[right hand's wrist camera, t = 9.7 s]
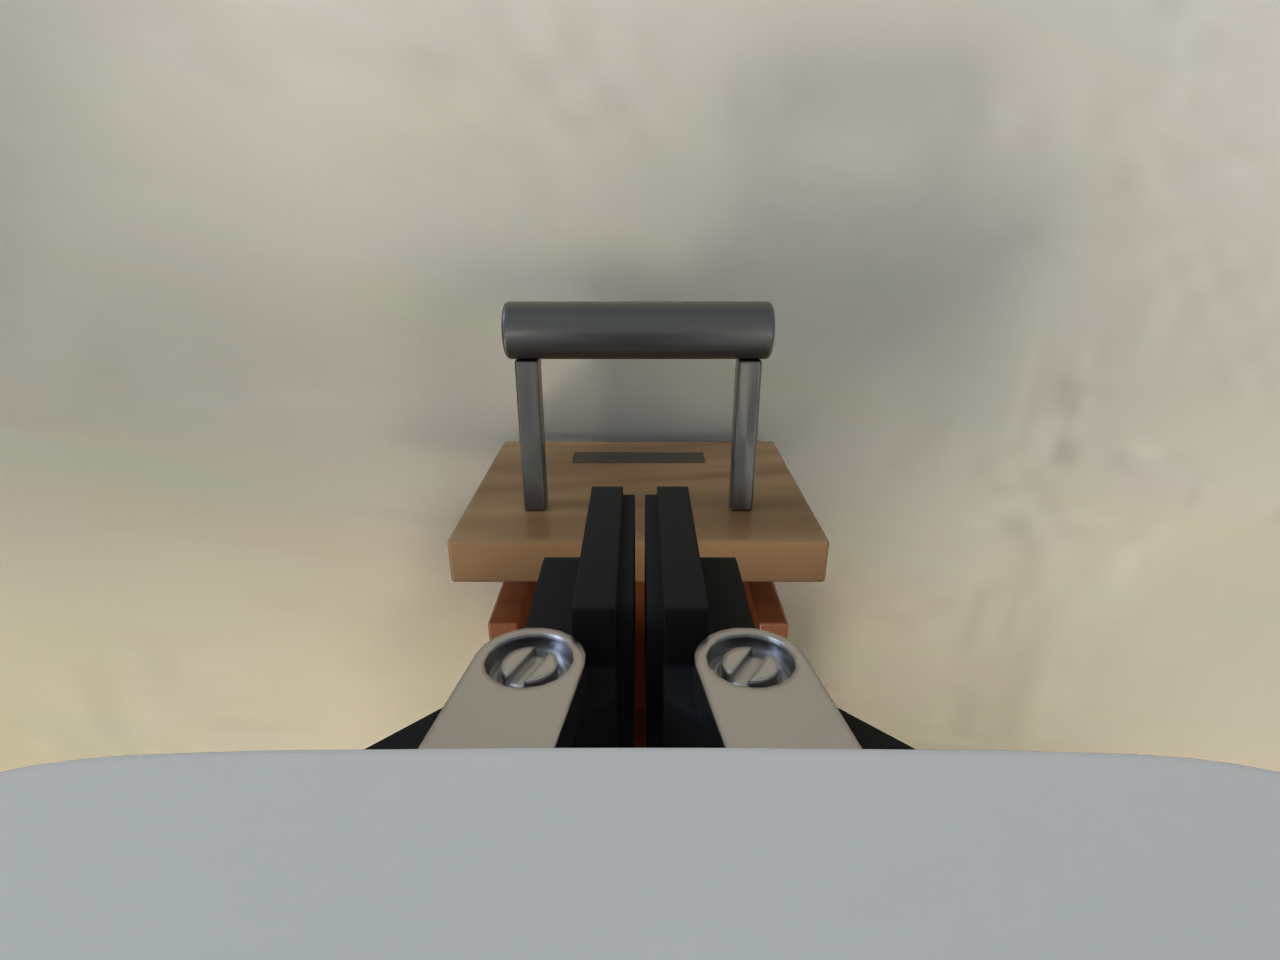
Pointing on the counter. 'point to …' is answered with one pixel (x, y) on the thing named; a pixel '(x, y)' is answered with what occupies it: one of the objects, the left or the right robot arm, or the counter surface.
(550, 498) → the drawer
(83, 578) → the counter surface
